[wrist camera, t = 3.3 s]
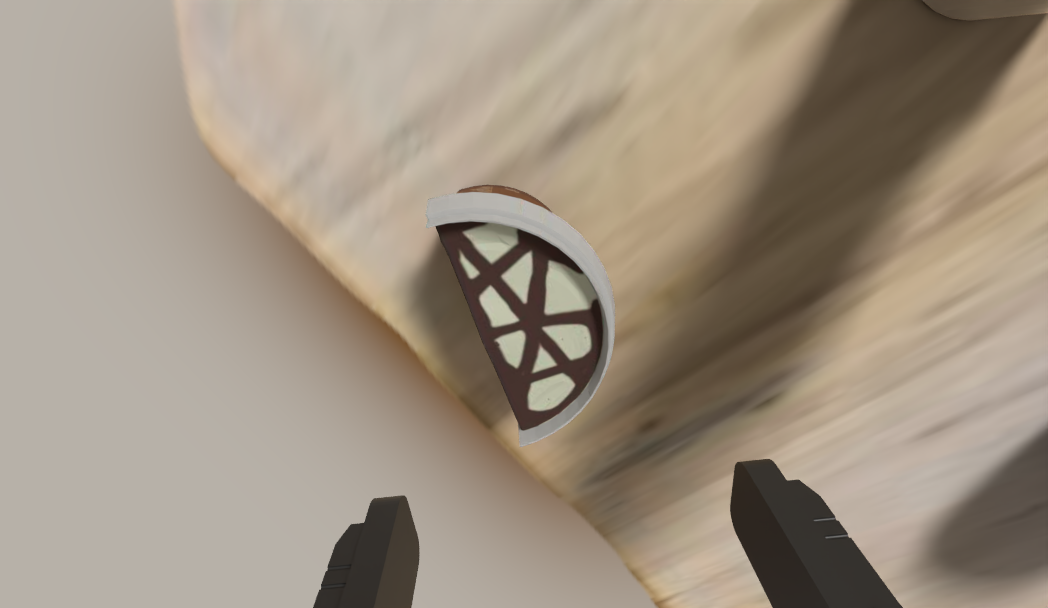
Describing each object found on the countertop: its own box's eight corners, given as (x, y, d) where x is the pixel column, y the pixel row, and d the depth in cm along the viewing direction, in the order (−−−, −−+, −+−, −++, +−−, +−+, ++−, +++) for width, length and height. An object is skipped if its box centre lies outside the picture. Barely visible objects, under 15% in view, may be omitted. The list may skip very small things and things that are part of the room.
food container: (610, 320, 31) (651, 421, 22) (519, 346, 32) (523, 455, 23) (557, 127, 26) (581, 158, 17) (449, 164, 27) (419, 212, 18)
